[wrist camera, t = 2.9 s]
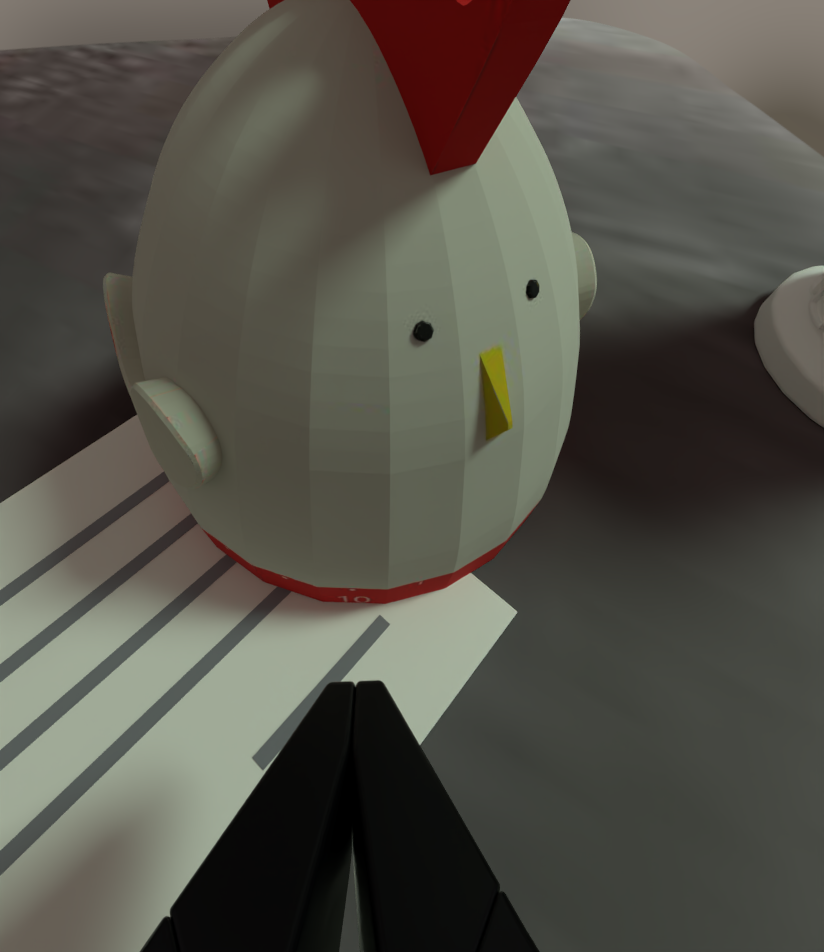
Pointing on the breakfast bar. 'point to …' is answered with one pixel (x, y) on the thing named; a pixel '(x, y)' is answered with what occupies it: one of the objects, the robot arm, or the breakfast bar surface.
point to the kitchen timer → (358, 295)
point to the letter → (166, 690)
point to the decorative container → (795, 339)
